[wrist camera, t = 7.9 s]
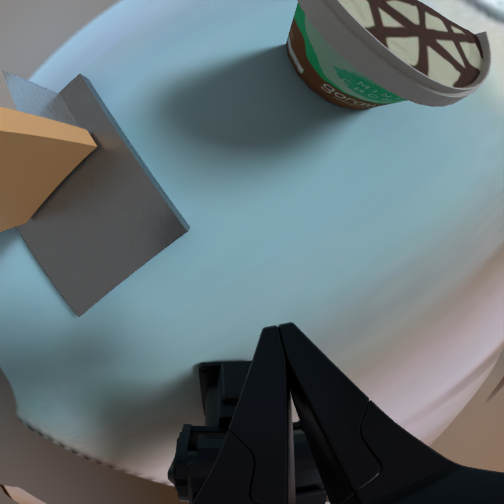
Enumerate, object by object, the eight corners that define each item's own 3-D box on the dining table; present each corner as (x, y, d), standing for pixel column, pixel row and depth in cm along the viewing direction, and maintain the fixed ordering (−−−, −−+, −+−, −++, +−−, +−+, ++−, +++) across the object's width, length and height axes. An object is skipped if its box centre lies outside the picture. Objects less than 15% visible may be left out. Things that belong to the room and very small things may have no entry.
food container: (268, 118, 18) (316, 66, 8) (265, 42, 16) (300, -43, 6) (415, 134, 19) (510, 126, 9) (408, 67, 17) (490, 35, 8)
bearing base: (190, 227, 19) (168, 265, 11) (86, 308, 20) (36, 370, 11) (88, 79, 15) (26, 39, 7) (1, 175, 16) (-69, 184, 8)
